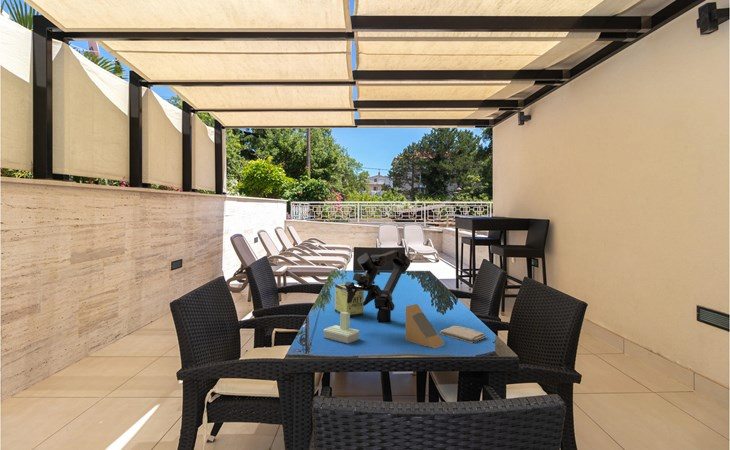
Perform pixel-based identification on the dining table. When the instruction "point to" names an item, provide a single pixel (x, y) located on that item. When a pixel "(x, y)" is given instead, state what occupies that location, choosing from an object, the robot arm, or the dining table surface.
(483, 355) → the dining table surface
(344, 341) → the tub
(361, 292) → the protein box
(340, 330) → the pale green grooved stand
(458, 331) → the washcloth
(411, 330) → the sandwich container
